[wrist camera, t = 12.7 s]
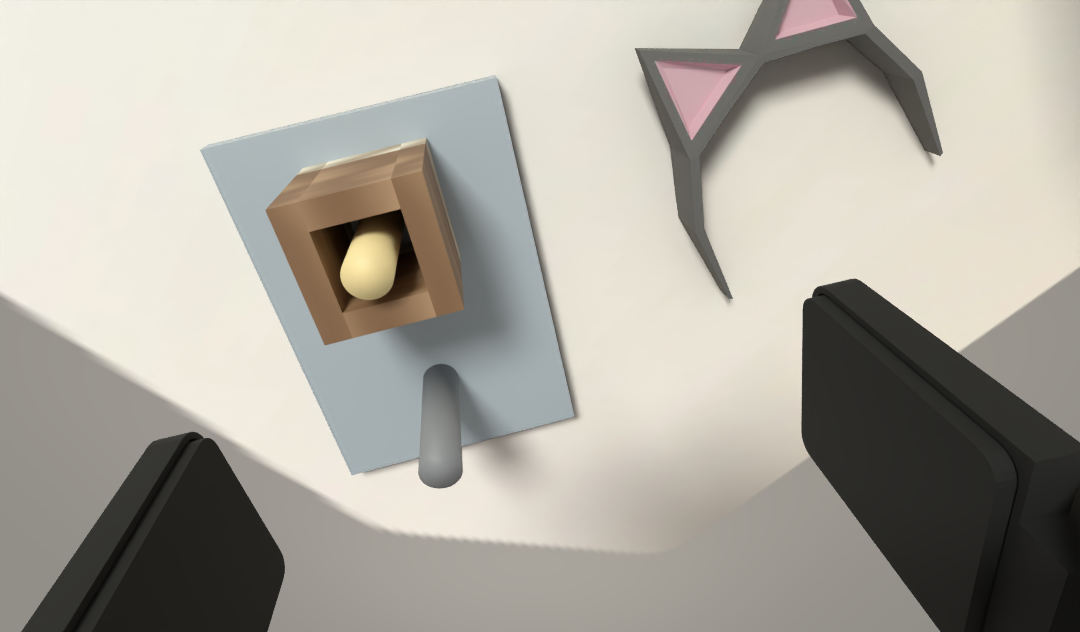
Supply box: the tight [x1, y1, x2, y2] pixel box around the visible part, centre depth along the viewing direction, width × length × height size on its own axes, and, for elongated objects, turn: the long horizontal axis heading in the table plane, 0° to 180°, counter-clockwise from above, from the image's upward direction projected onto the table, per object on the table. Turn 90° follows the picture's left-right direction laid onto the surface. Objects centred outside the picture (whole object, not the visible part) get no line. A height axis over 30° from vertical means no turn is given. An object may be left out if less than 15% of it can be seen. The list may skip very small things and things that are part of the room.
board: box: [200, 75, 575, 488], centre depth 30 cm, size 14×20×9 cm
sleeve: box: [265, 138, 464, 345], centre depth 27 cm, size 6×6×7 cm
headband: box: [635, 0, 943, 299], centre depth 32 cm, size 14×3×15 cm
